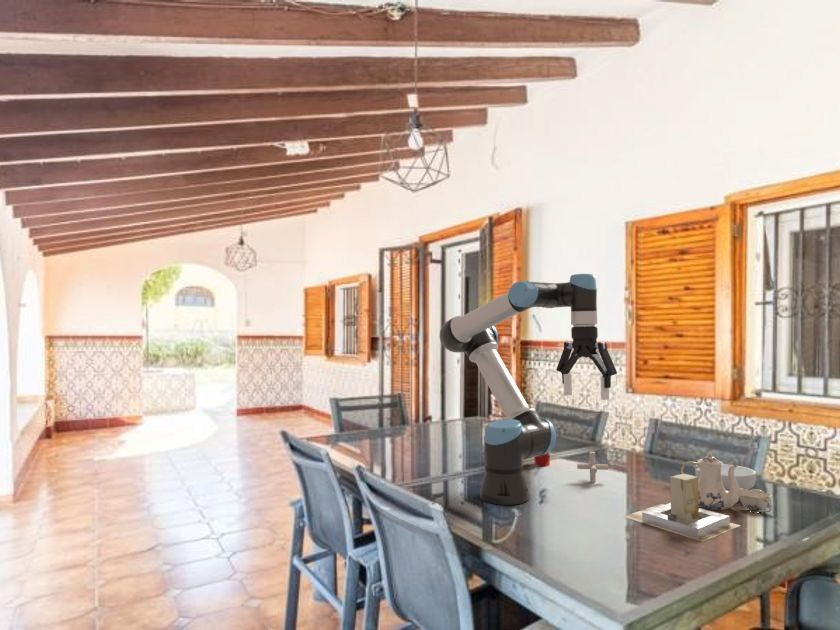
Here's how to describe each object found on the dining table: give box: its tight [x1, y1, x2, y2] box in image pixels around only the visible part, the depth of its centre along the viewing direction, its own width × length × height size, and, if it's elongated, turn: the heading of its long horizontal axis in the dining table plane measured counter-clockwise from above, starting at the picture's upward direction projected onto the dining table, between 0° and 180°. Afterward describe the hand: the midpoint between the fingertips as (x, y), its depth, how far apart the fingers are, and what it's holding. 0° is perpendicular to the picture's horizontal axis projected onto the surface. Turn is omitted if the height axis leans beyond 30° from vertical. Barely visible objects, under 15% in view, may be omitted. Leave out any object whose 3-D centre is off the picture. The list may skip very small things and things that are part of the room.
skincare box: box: [669, 473, 700, 523], centre depth 143 cm, size 6×4×12 cm
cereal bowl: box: [694, 463, 757, 491], centre depth 174 cm, size 17×17×7 cm
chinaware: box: [680, 451, 773, 514], centre depth 160 cm, size 28×17×17 cm, turn 44°
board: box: [622, 503, 742, 542], centre depth 145 cm, size 18×22×1 cm
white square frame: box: [641, 502, 731, 540], centre depth 143 cm, size 15×15×4 cm
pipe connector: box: [576, 451, 609, 484], centre depth 187 cm, size 10×10×10 cm
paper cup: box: [533, 451, 551, 467], centre depth 211 cm, size 8×8×14 cm
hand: (585, 397), depth 163 cm, fingers open, 13 cm apart
